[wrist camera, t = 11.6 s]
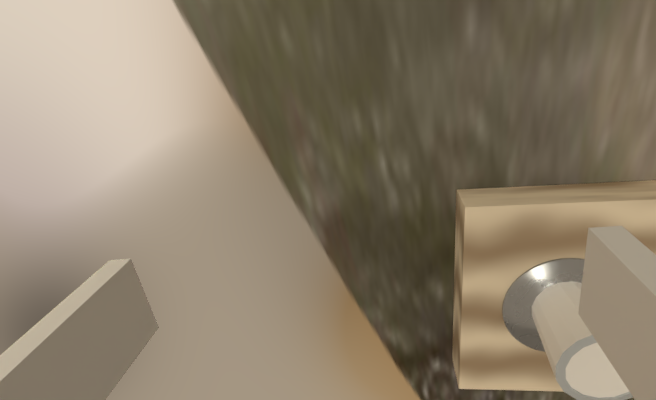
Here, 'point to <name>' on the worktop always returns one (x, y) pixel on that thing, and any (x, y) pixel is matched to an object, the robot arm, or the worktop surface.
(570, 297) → the tapered cream cylinder
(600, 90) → the worktop surface
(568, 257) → the birch stand
